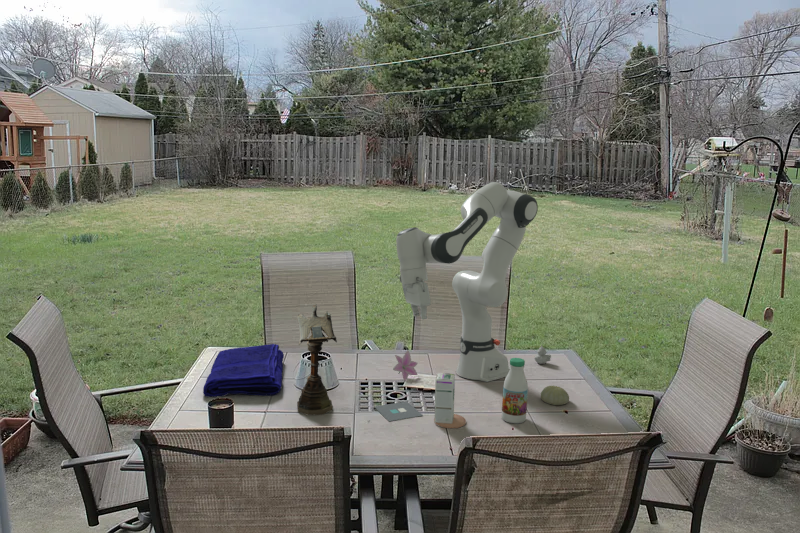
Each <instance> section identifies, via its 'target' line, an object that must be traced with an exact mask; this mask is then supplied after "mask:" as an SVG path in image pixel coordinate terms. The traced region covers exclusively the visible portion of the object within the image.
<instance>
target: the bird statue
mask: <svg viewBox="0 0 800 533" xmlns="http://www.w3.org/2000/svg"><path fill="white" fill-rule="evenodd" d="M311 309H312V310H311V311H312V312H311V315H310V317H307V316H305V315H304V314H303V313H300V314H298V315H297V316H296V320H297V324H298V331H299V339H298V341H299V342H298V346H300V345H301V344H302V343H305V342H306V345H307V351H308V352H310V363H309V365H310V375H309V376H307V378H306V382H305V385H304V386H303V388H302V389H301V394H300V396H299V397H298V401H297V404H296V405H297V408H296V409H297V412H298V413H301V414H304V415H307V416H317V415H318V416H319V415H321V416H322V415H325V414H327V413H329V412H332V411H333V403H332V401H333V400H332V399H330V397H329V395H328V391H327V388H326V385H324V383H323V381H322V378H323V377H322V376H321V375H320V374H318V372H319V365H320V362H319V354H320V352H321V351H322V350H323V347H322V346H323V343H328V342H329V341H330V340H333V341H334V342H335V343H338V341H337V336H335V333H334V328H333V324H332V322H333V321H332V317H331V313H330V312H329V311H328V310H326V312H324V313H323V314H324V315H323V316H318V314H317V313H318V312H317V309H318V306H317V303H315V304H313V306H312V308H311ZM310 333H311V334H310ZM309 335H310V336H309Z"/></svg>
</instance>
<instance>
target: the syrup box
mask: <svg viewBox="0 0 800 533" xmlns="http://www.w3.org/2000/svg"><path fill="white" fill-rule="evenodd" d="M455 375H456V374H454V373H447V372H446V373H445V372H437V374H436V377H435V387H434V390H435V391H434V418H435V422H437V423H446V424H452V422H453V418H454V414H455V384H456V383H455V381H456V376H455ZM435 422H434V423H435Z"/></svg>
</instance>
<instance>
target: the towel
mask: <svg viewBox="0 0 800 533" xmlns="http://www.w3.org/2000/svg"><path fill="white" fill-rule="evenodd" d="M279 348H280V345H279V344H276V343H269V344H264V345H263V344H261V345H253V346H245V347H243V346H242V347H241V346H239V347H235V348H229V349H225V350H220V351H219V352H218V354H217V355H216V357H215V359H214V362H213V364H212V367H211V369H210V374H209V375H208V376H207V378H206V380H205V383H204V385H203V391H202V393H203V395H204V396H205V397H207V398H218V397H217V396H221V397H224V396H227V395H238V394H243V395H250V396H264V397H265V396H267V397H268V396H275V395H277V394H279V393H280V392H281V389H282V384H283V370H284V368H283V367H284V366H283V365H284V364H283V360H284V357H285V356H284V355H285V353H284V352H283V350H281V349H279Z"/></svg>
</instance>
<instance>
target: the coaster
mask: <svg viewBox="0 0 800 533" xmlns="http://www.w3.org/2000/svg"><path fill="white" fill-rule="evenodd" d="M433 422H434V423H435V425H437V426H438V427H441V428H444V429H445V428H446V429H459V428H462V427H465V425H467V424H466V422H467V420H466V418H465V417H464V416H462V415H459V414H456V413H454V418H453V422H452V424H446V423H437V422H435V417H434V419H433Z"/></svg>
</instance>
